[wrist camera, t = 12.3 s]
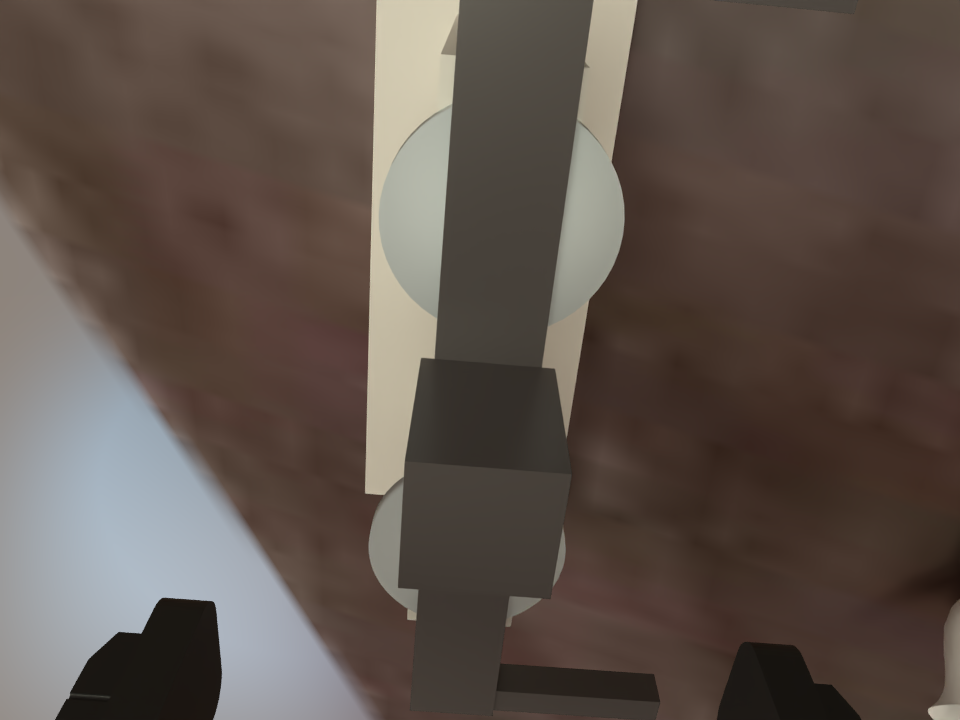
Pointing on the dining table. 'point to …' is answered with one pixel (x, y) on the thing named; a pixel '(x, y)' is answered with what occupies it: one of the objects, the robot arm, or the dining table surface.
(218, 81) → the dining table surface
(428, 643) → the spectacle frame
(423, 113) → the display stand
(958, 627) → the teapot
